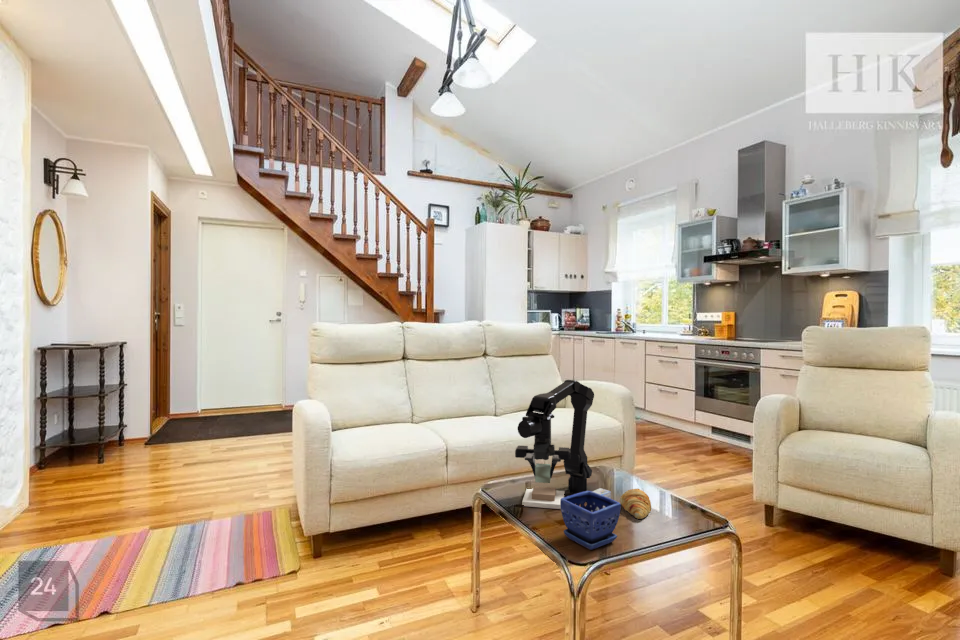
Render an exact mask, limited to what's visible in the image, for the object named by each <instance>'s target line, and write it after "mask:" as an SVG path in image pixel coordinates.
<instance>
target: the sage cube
mask: <svg viewBox="0 0 960 640" xmlns="http://www.w3.org/2000/svg"><path fill="white" fill-rule="evenodd" d="M551 464H552V463H539V462H538V463H536V462H535V465H536V467H535V476H534V480H535V481H534V482H535V483H541V484H550V483H551V481H552V480H551V479H552V478H550V471H551Z"/></svg>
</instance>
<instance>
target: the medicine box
mask: <svg viewBox="0 0 960 640" xmlns="http://www.w3.org/2000/svg"><path fill="white" fill-rule="evenodd" d="M591 491H592V492H595V493H597V494H600V495H603V496H605V497H608V498H610V499H612V491H610V490H608V489H605V488H601V487H599V488H597V489H595V490H591ZM594 504H595V503H594ZM603 508H605V506H603ZM598 510H599V508H598V507H597V508H596V511H598ZM591 512H593V511H592V510H591Z"/></svg>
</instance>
